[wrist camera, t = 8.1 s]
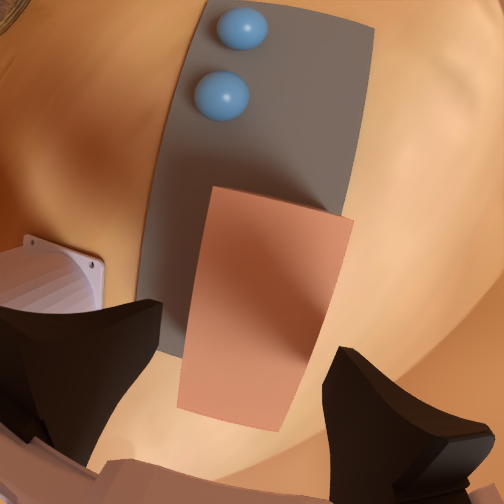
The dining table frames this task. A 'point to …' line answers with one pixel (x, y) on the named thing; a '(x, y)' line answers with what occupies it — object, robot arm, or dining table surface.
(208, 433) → the dining table surface
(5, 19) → the wooden mug
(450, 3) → the dining table surface
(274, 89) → the charcoal mat
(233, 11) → the blue marble
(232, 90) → the blue marble
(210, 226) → the terracotta cover
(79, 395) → the robot arm
